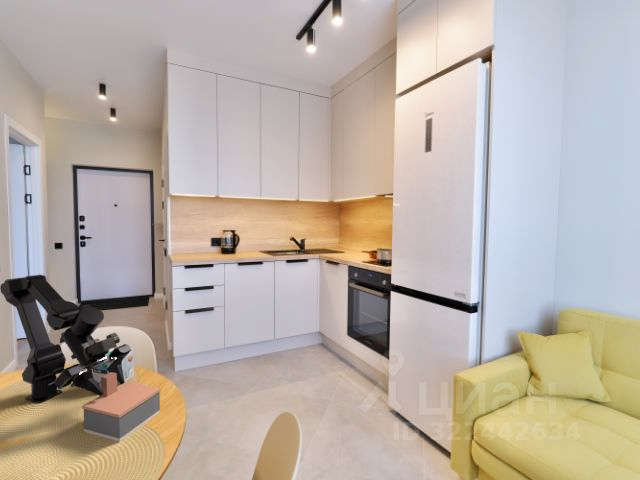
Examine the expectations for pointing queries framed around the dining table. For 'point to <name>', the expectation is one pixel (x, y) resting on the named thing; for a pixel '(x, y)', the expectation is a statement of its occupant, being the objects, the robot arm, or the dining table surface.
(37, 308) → the robot arm
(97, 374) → the light bulb box
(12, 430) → the dining table surface
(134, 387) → the lid
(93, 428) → the carton
